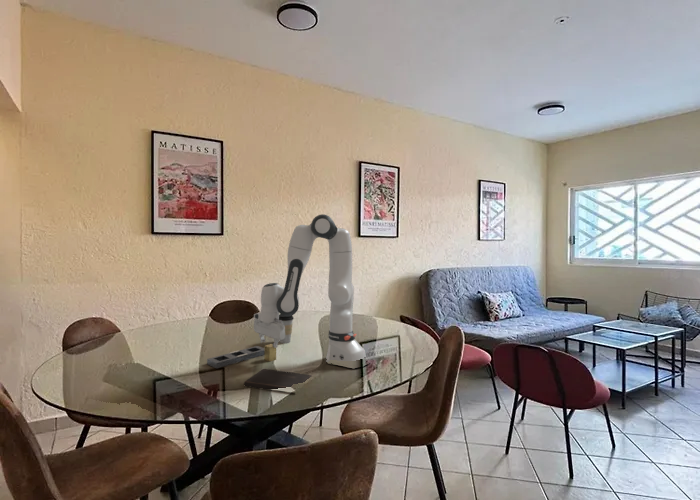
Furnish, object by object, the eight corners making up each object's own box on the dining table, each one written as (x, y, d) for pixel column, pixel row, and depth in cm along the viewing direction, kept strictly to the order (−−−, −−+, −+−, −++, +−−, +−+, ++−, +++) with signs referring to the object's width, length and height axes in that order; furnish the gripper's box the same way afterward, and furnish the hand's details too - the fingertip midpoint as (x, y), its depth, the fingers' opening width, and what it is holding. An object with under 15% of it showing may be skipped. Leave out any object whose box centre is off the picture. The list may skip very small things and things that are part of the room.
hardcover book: (263, 373, 178) (263, 368, 178) (311, 380, 171) (311, 375, 171) (243, 387, 163) (243, 381, 162) (295, 395, 156) (296, 389, 156)
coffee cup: (284, 345, 218) (284, 318, 217) (272, 342, 223) (272, 315, 222) (297, 341, 225) (297, 315, 224) (285, 338, 231) (285, 312, 230)
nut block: (276, 359, 195) (276, 345, 194) (269, 361, 192) (269, 347, 191) (271, 357, 197) (271, 343, 197) (264, 359, 194) (264, 345, 194)
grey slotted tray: (266, 354, 203) (266, 348, 202) (216, 368, 182) (216, 362, 181) (257, 350, 208) (257, 345, 208) (207, 364, 187) (207, 358, 187)
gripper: (288, 319, 189) (287, 348, 189) (262, 312, 202) (261, 339, 203) (278, 322, 184) (277, 351, 185) (251, 313, 197) (251, 341, 198)
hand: (268, 345), depth 194 cm, fingers open, 8 cm apart
